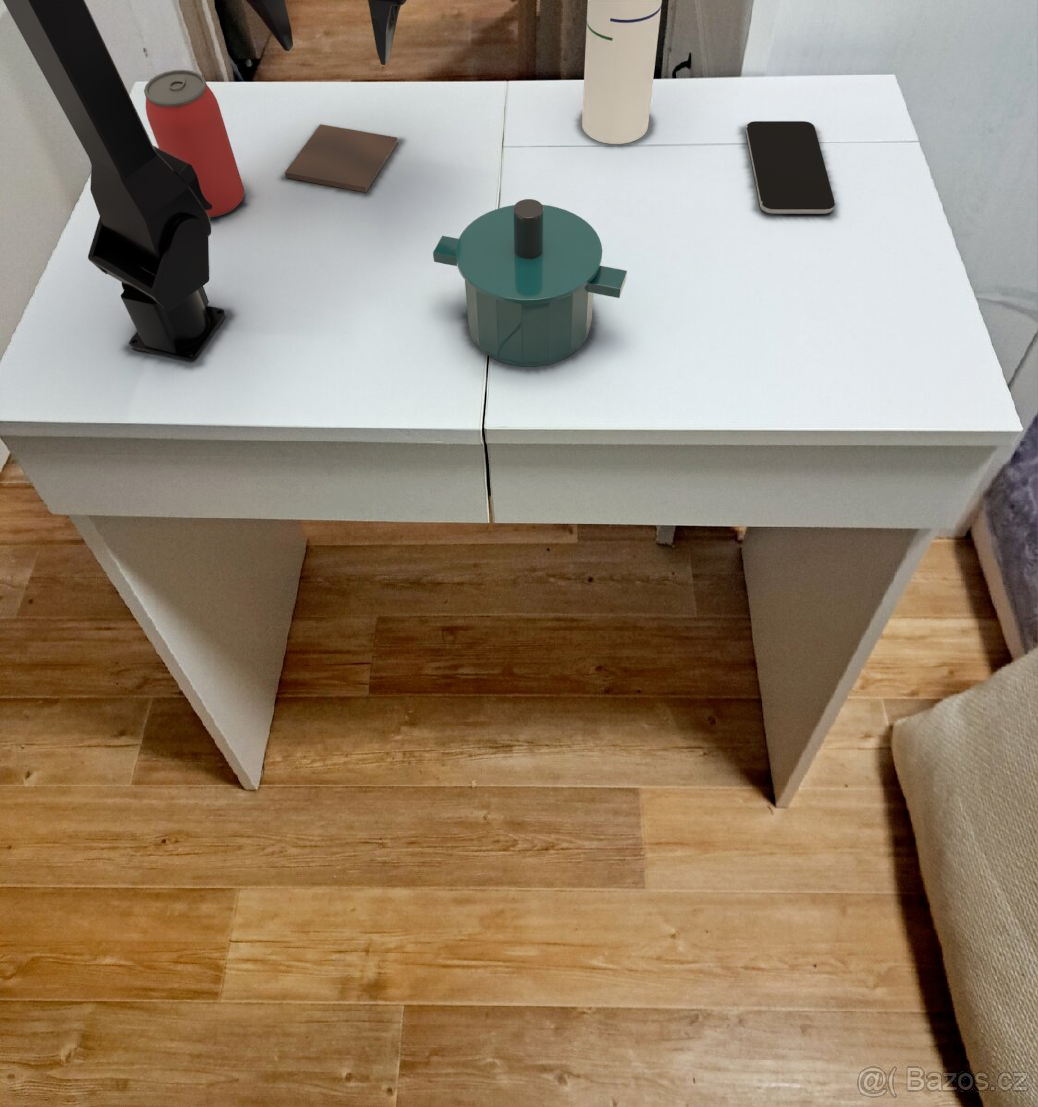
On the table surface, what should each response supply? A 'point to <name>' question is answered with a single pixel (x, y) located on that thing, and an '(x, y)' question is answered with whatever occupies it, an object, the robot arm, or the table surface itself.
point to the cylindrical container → (619, 68)
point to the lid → (528, 253)
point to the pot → (532, 318)
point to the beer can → (195, 134)
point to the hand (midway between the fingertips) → (336, 55)
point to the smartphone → (789, 168)
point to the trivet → (342, 158)
